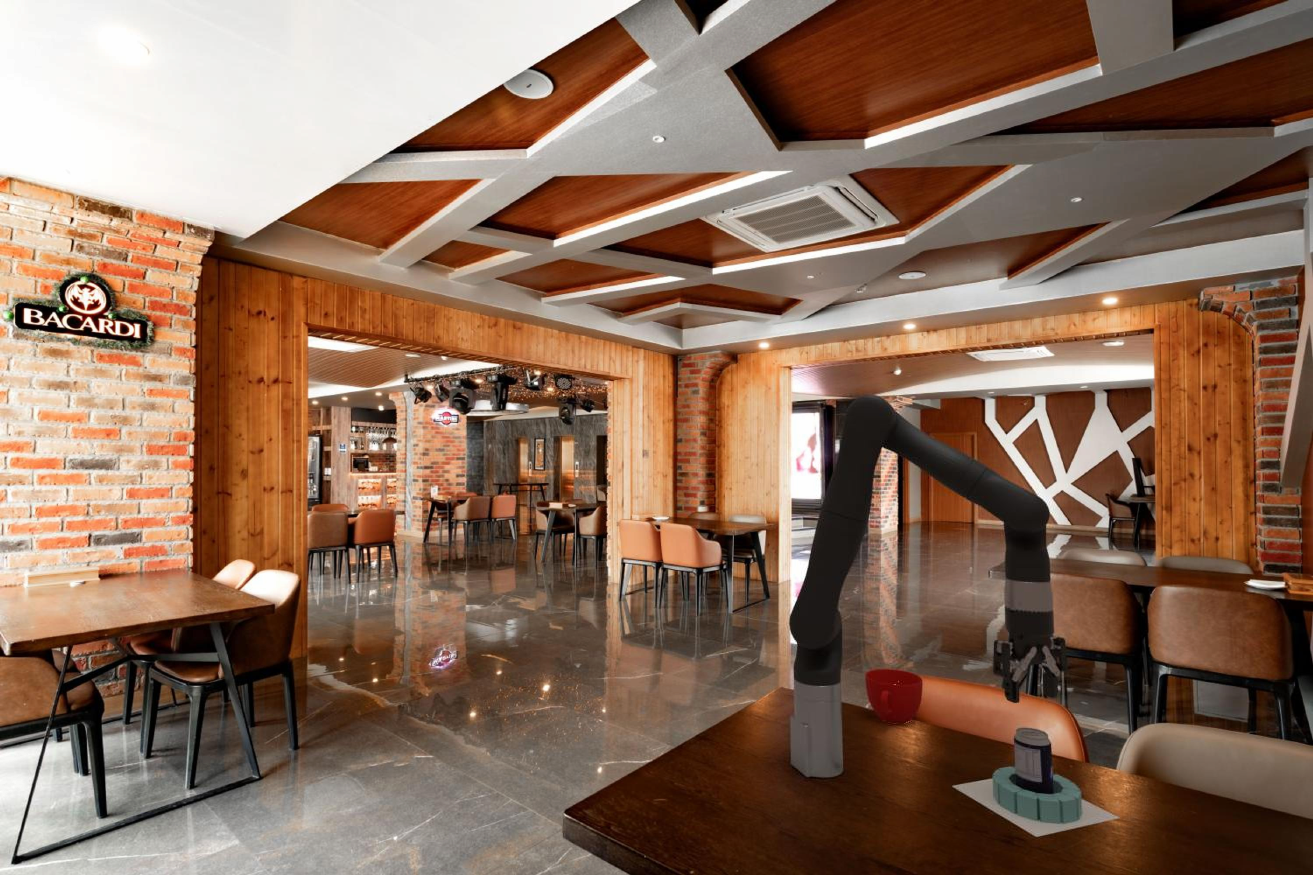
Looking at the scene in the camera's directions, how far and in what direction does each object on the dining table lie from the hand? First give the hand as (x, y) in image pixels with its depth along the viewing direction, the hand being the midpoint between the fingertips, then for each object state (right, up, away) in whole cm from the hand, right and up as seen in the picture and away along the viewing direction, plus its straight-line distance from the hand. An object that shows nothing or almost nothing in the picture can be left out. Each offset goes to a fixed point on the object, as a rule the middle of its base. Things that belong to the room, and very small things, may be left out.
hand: (1031, 698), depth 114 cm
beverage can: (0, -18, -1) cm, 18 cm away
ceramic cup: (-10, -22, +40) cm, 46 cm away
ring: (0, -18, -1) cm, 18 cm away
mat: (0, -19, 0) cm, 19 cm away
